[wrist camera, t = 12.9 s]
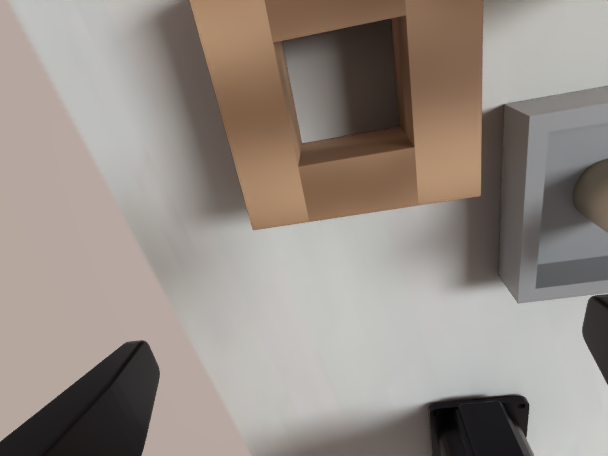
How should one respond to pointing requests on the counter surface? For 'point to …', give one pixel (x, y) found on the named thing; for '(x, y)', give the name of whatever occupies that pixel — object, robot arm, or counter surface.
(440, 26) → the brown square frame
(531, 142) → the gray square tray
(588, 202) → the beige wooden peg
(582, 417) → the counter surface
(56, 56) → the counter surface
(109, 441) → the robot arm
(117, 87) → the counter surface
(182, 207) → the counter surface
